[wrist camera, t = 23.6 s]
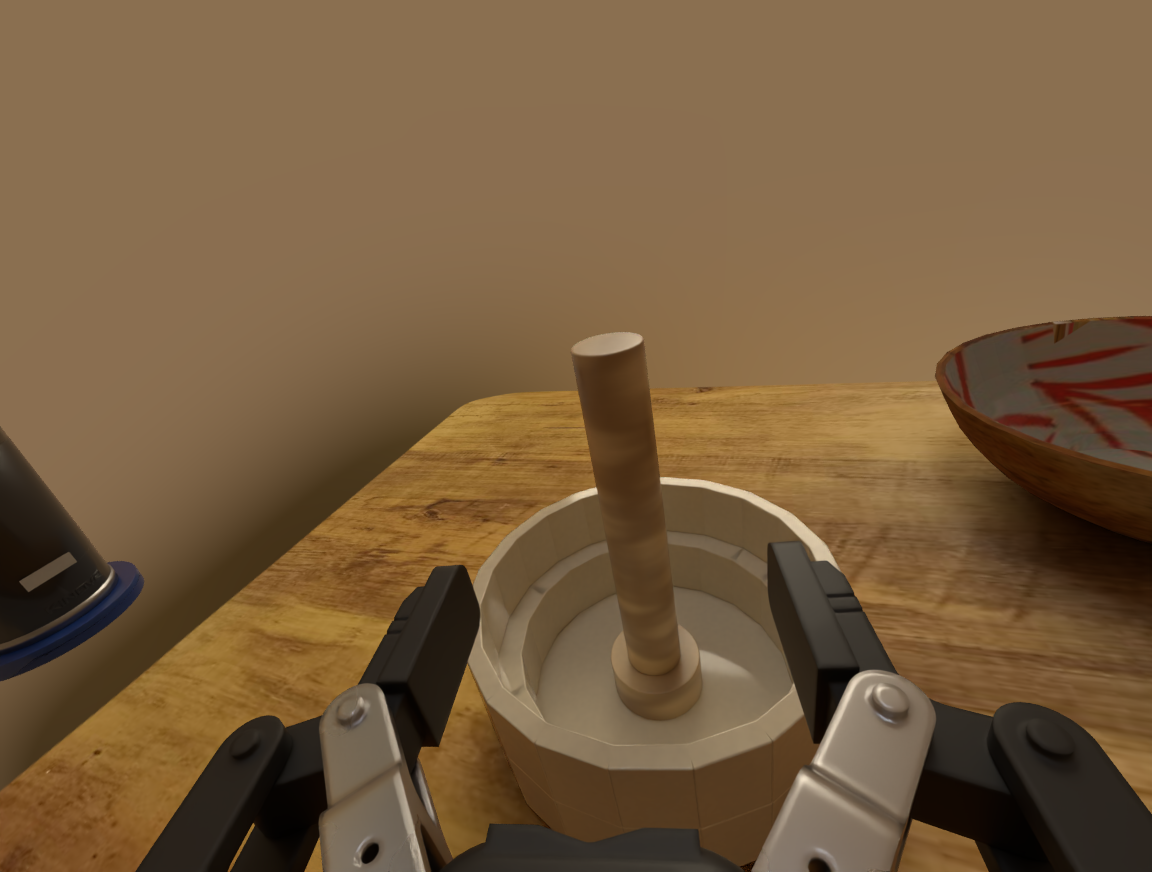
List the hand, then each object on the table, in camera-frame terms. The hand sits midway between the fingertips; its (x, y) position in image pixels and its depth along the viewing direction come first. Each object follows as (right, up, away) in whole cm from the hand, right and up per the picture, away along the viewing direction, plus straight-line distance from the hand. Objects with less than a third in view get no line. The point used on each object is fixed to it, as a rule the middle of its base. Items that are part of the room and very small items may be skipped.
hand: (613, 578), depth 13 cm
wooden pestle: (+3, -9, +12) cm, 15 cm away
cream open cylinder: (+3, -9, +13) cm, 16 cm away
